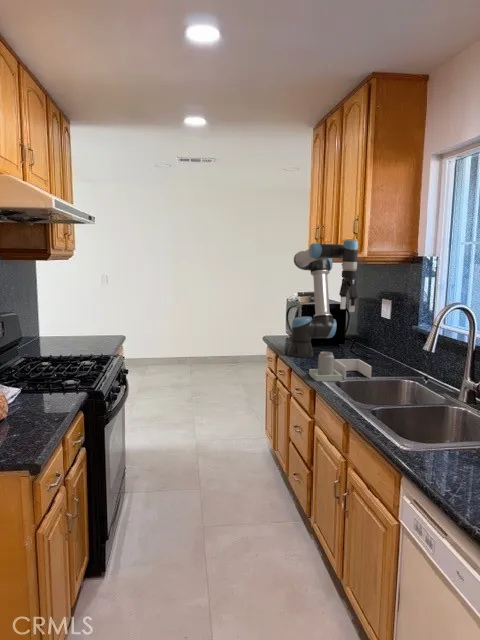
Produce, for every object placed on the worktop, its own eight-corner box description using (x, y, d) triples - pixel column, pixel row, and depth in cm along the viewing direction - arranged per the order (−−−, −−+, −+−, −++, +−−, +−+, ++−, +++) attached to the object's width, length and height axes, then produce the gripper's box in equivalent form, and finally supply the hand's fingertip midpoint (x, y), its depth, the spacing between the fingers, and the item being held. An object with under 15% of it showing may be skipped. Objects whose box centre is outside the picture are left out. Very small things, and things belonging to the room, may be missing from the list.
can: (332, 378, 232) (334, 354, 230) (317, 377, 233) (318, 353, 231) (332, 374, 239) (334, 351, 237) (317, 373, 240) (319, 350, 239)
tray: (308, 374, 241) (309, 369, 241) (333, 374, 243) (333, 369, 243) (316, 381, 229) (316, 375, 228) (342, 381, 230) (342, 375, 230)
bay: (333, 370, 252) (333, 359, 251) (358, 370, 254) (359, 359, 253) (344, 378, 235) (344, 366, 234) (370, 378, 237) (371, 366, 236)
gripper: (334, 269, 260) (332, 307, 263) (350, 270, 236) (348, 313, 239) (347, 269, 261) (345, 307, 264) (365, 271, 237) (362, 313, 239)
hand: (347, 310), depth 251 cm, fingers open, 13 cm apart
